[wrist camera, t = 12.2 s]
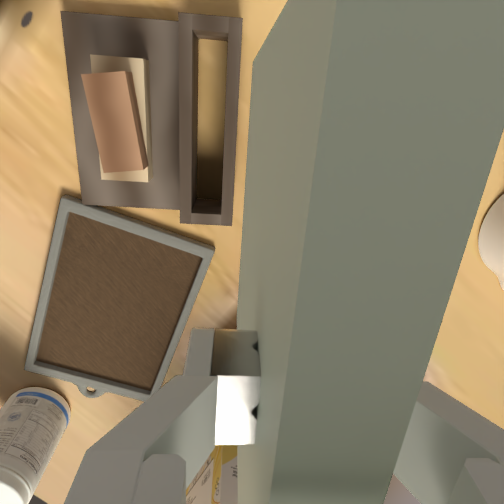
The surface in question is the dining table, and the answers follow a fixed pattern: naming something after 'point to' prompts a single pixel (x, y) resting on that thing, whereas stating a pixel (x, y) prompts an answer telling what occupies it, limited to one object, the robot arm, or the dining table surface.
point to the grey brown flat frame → (113, 301)
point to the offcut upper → (116, 120)
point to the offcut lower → (143, 99)
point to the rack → (156, 108)
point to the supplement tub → (29, 440)
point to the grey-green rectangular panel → (357, 228)
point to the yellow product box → (216, 478)
